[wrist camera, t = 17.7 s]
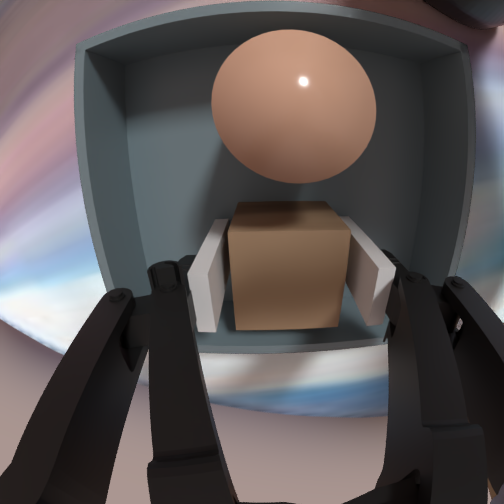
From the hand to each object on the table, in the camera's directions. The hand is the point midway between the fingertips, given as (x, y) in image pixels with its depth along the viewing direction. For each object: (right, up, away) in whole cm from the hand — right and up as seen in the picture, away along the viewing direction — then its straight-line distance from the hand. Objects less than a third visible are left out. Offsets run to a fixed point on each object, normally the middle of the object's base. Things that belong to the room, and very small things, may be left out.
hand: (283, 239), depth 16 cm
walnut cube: (0, 0, 0) cm, 1 cm away
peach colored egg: (0, +7, -2) cm, 7 cm away
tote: (0, +4, -1) cm, 4 cm away
